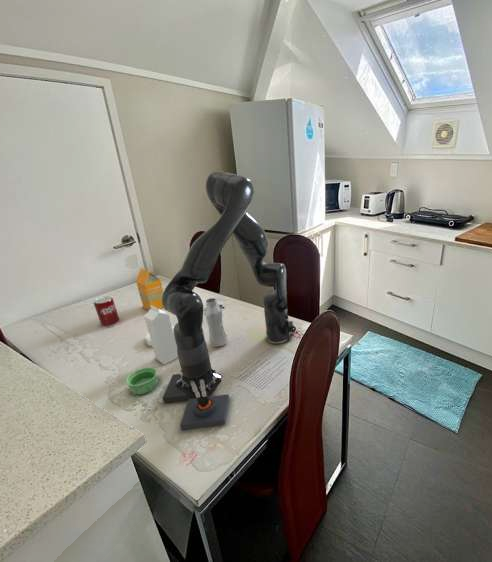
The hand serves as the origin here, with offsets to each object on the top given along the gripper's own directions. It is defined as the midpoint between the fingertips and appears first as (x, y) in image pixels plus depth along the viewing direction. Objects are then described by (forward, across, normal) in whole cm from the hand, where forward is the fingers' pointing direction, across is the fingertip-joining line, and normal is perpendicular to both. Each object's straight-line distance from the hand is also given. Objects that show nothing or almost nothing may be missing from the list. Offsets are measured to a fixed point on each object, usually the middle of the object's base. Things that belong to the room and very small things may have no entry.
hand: (204, 404), depth 92 cm
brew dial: (+2, -7, +12) cm, 14 cm away
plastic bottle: (+4, -2, +37) cm, 37 cm away
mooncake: (+4, -26, +45) cm, 52 cm away
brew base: (+4, -7, +12) cm, 15 cm away
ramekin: (+4, -23, +16) cm, 28 cm away
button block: (+4, 0, 0) cm, 4 cm away
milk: (+4, -20, +31) cm, 37 cm away
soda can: (+4, -54, +63) cm, 83 cm away
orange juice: (+4, -39, +76) cm, 86 cm away
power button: (+2, 0, 0) cm, 2 cm away
